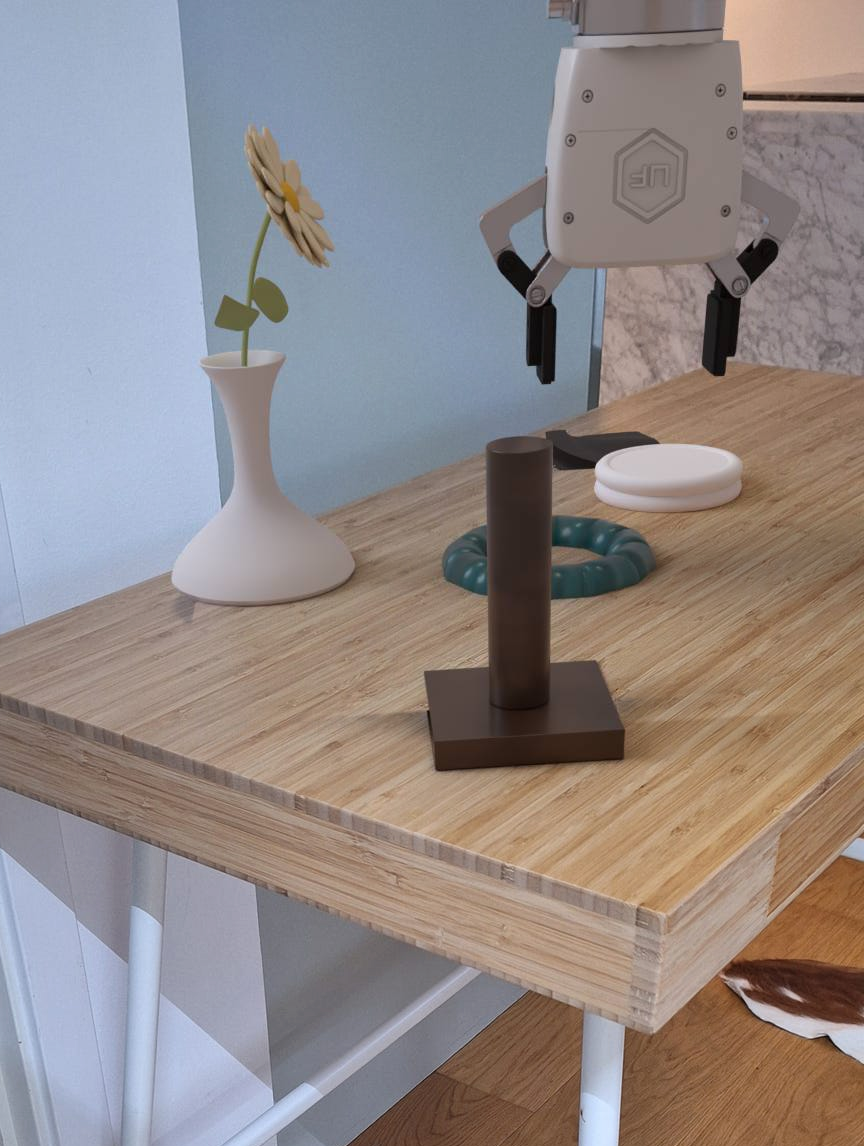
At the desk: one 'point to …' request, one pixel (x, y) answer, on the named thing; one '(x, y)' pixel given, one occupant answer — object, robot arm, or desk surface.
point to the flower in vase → (262, 432)
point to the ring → (616, 570)
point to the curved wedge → (591, 447)
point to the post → (520, 642)
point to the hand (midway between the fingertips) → (629, 375)
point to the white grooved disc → (668, 478)
